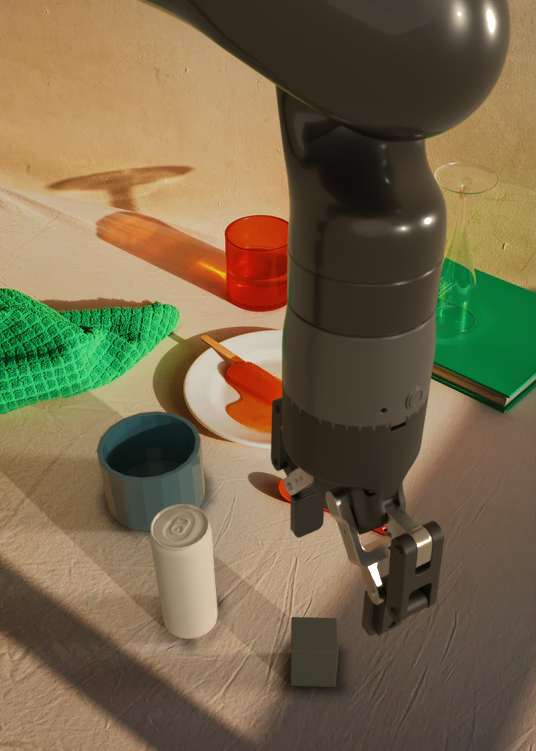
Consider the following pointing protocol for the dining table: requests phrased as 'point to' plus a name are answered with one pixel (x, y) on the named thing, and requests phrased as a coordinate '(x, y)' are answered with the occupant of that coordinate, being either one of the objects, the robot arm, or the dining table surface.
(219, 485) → the dining table surface
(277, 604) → the dining table surface
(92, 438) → the dining table surface
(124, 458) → the teal round container
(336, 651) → the dark gray rectangular block
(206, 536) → the beverage can
